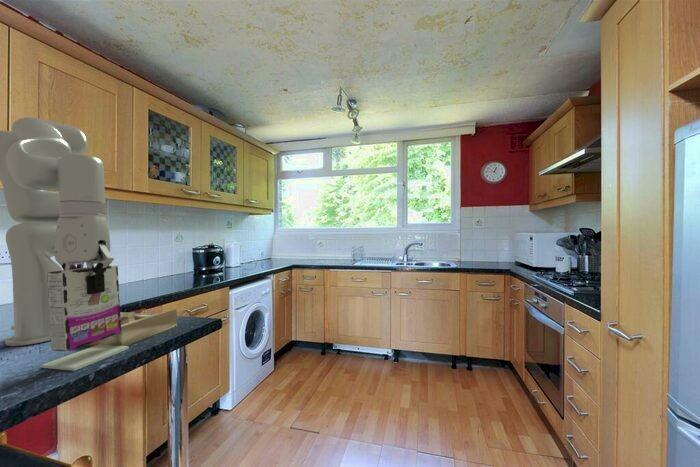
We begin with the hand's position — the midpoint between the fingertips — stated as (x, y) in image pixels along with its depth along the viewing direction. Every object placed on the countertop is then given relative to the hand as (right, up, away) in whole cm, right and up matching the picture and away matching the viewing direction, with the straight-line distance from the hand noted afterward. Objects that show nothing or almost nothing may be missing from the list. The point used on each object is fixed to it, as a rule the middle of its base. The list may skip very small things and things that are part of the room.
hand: (86, 292), depth 63 cm
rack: (-2, -15, +15) cm, 21 cm away
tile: (0, -15, 0) cm, 15 cm away
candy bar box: (0, -11, 0) cm, 11 cm away
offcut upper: (-4, -12, +16) cm, 20 cm away
